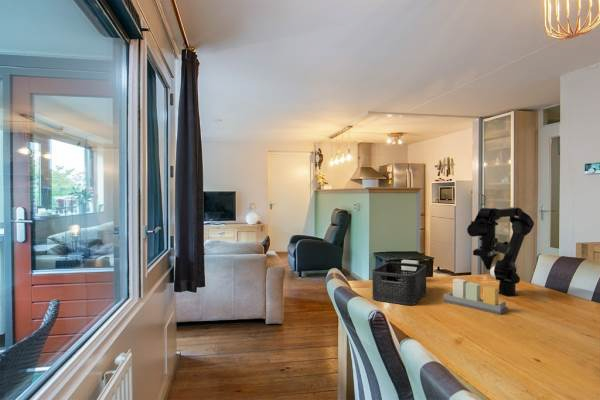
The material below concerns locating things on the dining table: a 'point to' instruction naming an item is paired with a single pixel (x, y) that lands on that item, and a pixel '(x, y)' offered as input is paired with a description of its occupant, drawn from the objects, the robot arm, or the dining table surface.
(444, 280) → the dining table surface
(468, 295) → the pale green tall block
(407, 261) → the ink box
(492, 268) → the geometric ball
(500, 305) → the grey divided tray
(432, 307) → the dining table surface
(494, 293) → the orange block
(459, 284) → the white rectangular block
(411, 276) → the storage bin
